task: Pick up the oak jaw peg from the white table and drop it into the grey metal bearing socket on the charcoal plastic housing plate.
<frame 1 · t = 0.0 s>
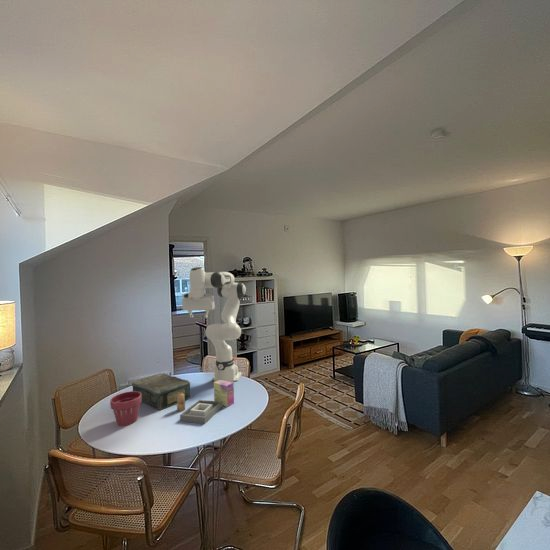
hand: (198, 317, 171), 48 cm above the table, tool pointing down, fingers open, 8 cm apart
metal box: (161, 398, 175), on the table
housing: (202, 413, 152), on the table
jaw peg: (181, 409, 158), on the table
plant pot: (127, 421, 147), on the table
box: (224, 403, 164), on the table
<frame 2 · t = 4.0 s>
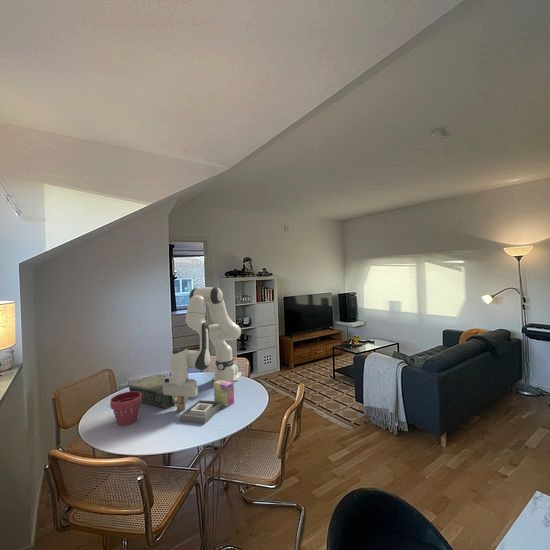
hand: (180, 403, 158), 3 cm above the table, tool pointing down, fingers closed on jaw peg, 4 cm apart
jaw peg: (181, 409, 158), on the table, touching gripper
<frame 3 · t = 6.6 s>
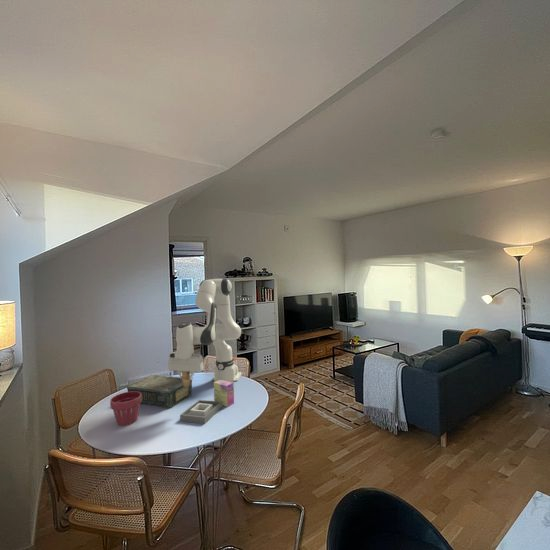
hand: (186, 379, 156), 17 cm above the table, tool pointing down, fingers closed on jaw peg, 4 cm apart
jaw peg: (186, 385, 156), point 14 cm above the table, touching gripper
when the fingers open (5 cm above the table, at t = 9.3 s): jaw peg stays where it is, resting on housing.
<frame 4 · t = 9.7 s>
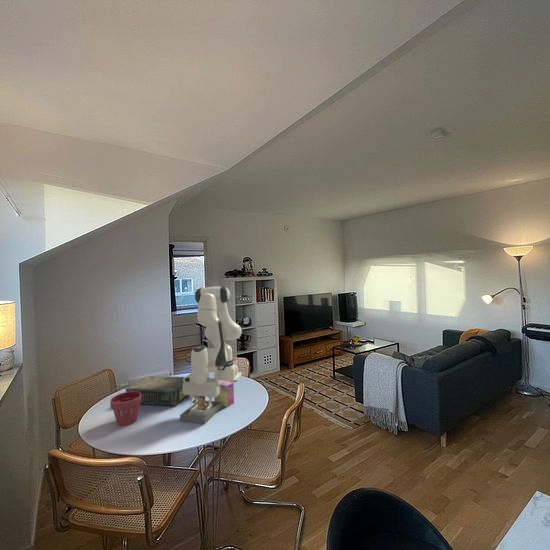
hand: (201, 403, 152), 5 cm above the table, tool pointing down, fingers open, 8 cm apart
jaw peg: (201, 411, 152), point 1 cm above the table, touching housing
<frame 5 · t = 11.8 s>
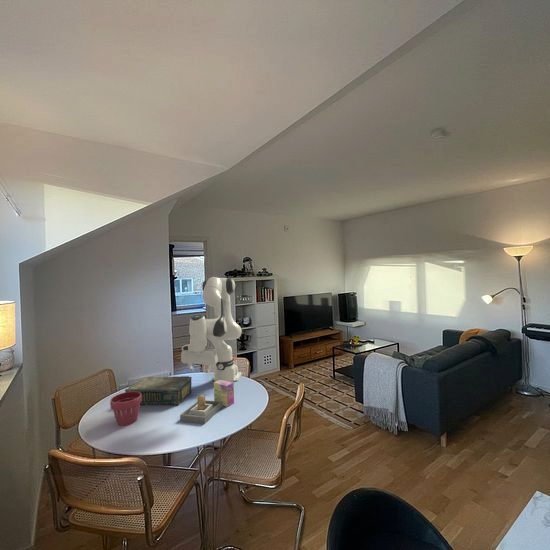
hand: (200, 372, 153), 21 cm above the table, tool pointing down, fingers open, 8 cm apart
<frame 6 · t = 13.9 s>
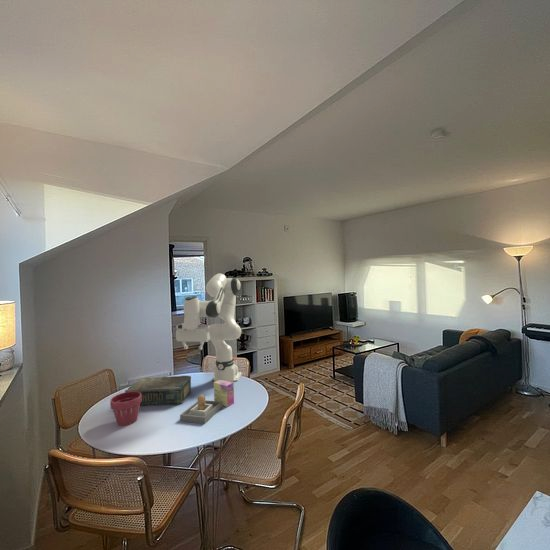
hand: (193, 349, 164), 31 cm above the table, tool pointing down, fingers open, 8 cm apart
at the end: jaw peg 0.0 cm off-centre on the housing, point 1.0 cm above the housing's base; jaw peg tilted 0°; the gripper is holding nothing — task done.
